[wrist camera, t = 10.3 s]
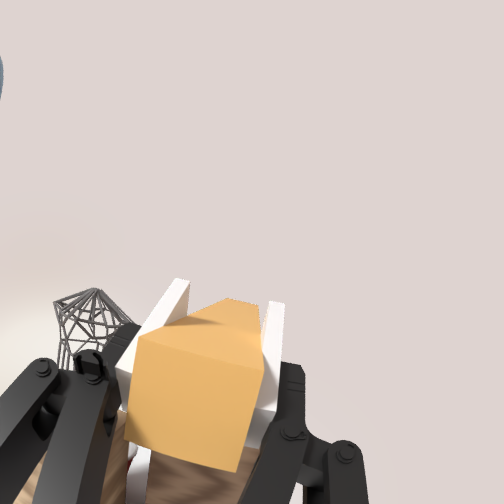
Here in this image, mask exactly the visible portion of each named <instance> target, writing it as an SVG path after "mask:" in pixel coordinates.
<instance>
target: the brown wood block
mask: <svg viewBox="0 0 504 504" xmlns="http://www.w3.org/2000/svg"><path fill="white" fill-rule="evenodd" d="M260 447H261V445H260ZM260 447H259V449H256V448H251V447H246V446H243V450H242V453H241V457H240V460H239V463H238V467H237V470H236V473H235V472H230V471H225V470H221V469H216V468H212V467H208V466H204V465H200V464H196V463H192V462H189V461H185V460H182V459H178V458H175V457H172V456H169V455H166V454H162V453H159V452H156V451H153V450H151V457H150V465H149V473H148V481H147V490H146V499H145V504H237V502H238V500H239V498H240V496H241V494H242V491H243V489H244V487H245V485H246V483H247V480H248V478H249V476H250V474H251V471H252V469H253V467H254V466H253V465H254V463H255V461H256V459H257V458H258V456H259V454H260Z"/></svg>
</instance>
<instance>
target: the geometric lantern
mask: <svg viewBox="0 0 504 504" xmlns="http://www.w3.org/2000/svg"><path fill="white" fill-rule="evenodd" d="M93 293H94V294H93ZM92 294H93V296H92ZM80 295H81V296H80ZM77 296H80V297H78V298H77V299H75V300H74V301H72V302H71V303H69V304H66V303H63V302H62V301H66V300H68V299H71V298H74V297H77ZM91 296H92V297H91ZM90 297H91V298H90ZM96 297H97V299H98V303H99V306H100V308H95V306H96ZM89 298H90V300H89V301H88V303H87V304H86V305H85V307H84V308H83V309H81V308H82V307H83V305H84V304H85V303H86V302H87V300H88V299H89ZM92 298H93V299H92ZM91 299H92V305H91V310H84V309H85V308H86V307H87V305H88V304H89V302H90V301H91ZM100 299H101V301H102V303H103V302H104V303H105V305H106V306H107V308H108V309H109V310H107V309H106V307H105V305H104V303H103V305H104V308H102V304H101V301H100ZM81 300H82V301H81ZM80 301H81V302H80ZM79 302H80V303H79ZM57 303H58V304H59V305H60V306H61V307H63V308H62V309H61V307H60V306H59V305H58V304H57ZM77 303H79V304H78V305H77V306H75V305H76V304H77ZM53 305H54V309H55V312H56V316H57V320H58V323H59V326H60V342H59V350H58V358H57V366H58V369H59V360H60V352H61V344H63V345H64V350H63V358H62V366H61V369H63V367H64V359H65V352H66V350H67V352H68V357H67V365H66V370H69V359H70V355H71V356H73V357H74V356H75V354H76V353H77V352H78V351H79V350H80V349H81V348H82V347H83V346H84V345H85V344H86V343H87V342H91V343H97V347H96V350H97V351H98V347H99V345H101V346H103V349H104V348H105V346H106V345H107V343H108V342H110V339H111V338H112V337H113V336H114V334H115V333H116V332H117V330H118V329H119V328H120V327H121V326H123V325H121V323H122V324H124V325H125V324H126V323H128V322H130V321H131V323H134V322H133V321H132V320H131V319H130V318H129V317H128V316H127V315H126V314H125V313H124V312H123V311H122V310H121V309H120V308H119V307H118V306H117V305H116V304H115V303H114V302H113V301H112V300H111V299H110V298H109V297H108V296H107V295H106V294H105V293H104V291H103V290H100V289H97V288H91V289H87V290H85V291H82V292H79V293H76V294H74V295H71V296H68V297H65V298H62V299H60V300H57V301H54V302H53ZM64 305H65V306H64ZM56 306H57V307H58V308H59V315H58V311H57V308H56ZM71 308H74V309H73V310H72V311H71V312H70V311H69V310H70V309H71ZM77 309H78V310H79V315H78V317H76V316H75V315H74V313H75V311H76V310H77ZM63 310H65V311H63ZM95 310H101V311H100V312H98V313H97V314H95ZM105 310H107V311H110V313H111V317H112V321H113V325H107V322H106V318H105V315H104V311H105ZM62 311H63V312H62ZM120 311H121V312H122V313H123V314H124V315H125V316H126V317H127V318H129V320H130V321H129V320H128V319H127V318H126V317H125V316H124V315H123V314H122V313H121V312H120ZM66 312H68V313H69V314H68V315H66V314H65V313H66ZM82 312H88V313H90V316H89V319H88V320H84V319H80V318H79V317H80V315H81V314H82ZM117 313H118V314H119V315H120V316H121V317H122V318H123V319H124V320H125V321H124V320H122V319H121V318H120V316H119V315H118V314H117ZM91 314H92V317H91ZM99 314H102V317H103V321H104V323H100V322H95V321H94V318H95V317H97V316H98V315H99ZM113 315H114V316H113ZM60 316H61V322H60ZM62 316H64V317H65V319H64V321H62ZM71 316H73V317H74V319H72V318H70V317H71ZM114 317H115V318H116V319H117V320H118V321H119V322H120V323H119V325H115V320H114ZM68 319H71V320H73V321H74V322H75V323H74V325H73V326H72V328H71V330H70V332H69V334H68V335H66V331H65V326H64V325H65V323H66V321H67V320H68ZM78 321H80V322H84V323H88V325H89V324H91V326H92V327H93V331H92V329H91V327H90V325H89V327H90V329H91V332H92V334H93V336H91V334H90V333H89V332H88V331H87V330H86V329H85V328H84V327H83V326H82V325H81V324H80V323H79V322H78ZM76 324H77V325H78V326H79V327H80V328H81V329H82V330H83V331H84V332H85V333H86V334H87V335H88V336H89V337H90V338H89V339H88V340H87V341H85V340H75V339H68V338H69V336H70V334H71V332H72V330H73V329H74V327H75V325H76ZM94 324H96V325H102V326H105V328H106V329H107V330H106V336H105V337H95V325H94ZM134 324H135V323H134ZM61 326H62V327H63V332H64V336H65V339H61ZM108 328H114V330H115V331H114V332H113V333H111V334H109V335H108ZM116 328H118V329H116ZM90 339H95V340H96V341H89V340H90ZM97 339H107V341H106V343H105V344H102V343H99V342H98V341H97ZM68 340H70V341H80V342H85V343H84V344H83V345H82V346H81V347H80V348H79V349H78V350H77V351H76V352H75V353H74V354H72V353H71V351H70V347H69V343H68ZM63 341H65V343H63ZM66 345H67V347H66ZM67 348H68V349H67ZM103 349H102V350H103ZM73 366H74V367H73V371H76V369H75V365H74V364H73Z"/></svg>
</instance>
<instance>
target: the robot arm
mask: <svg viewBox="0 0 504 504" xmlns="http://www.w3.org/2000/svg"><path fill="white" fill-rule="evenodd" d="M2 86H3V64H2V60H1V57H0V98H1V93H2ZM189 287H190V281H187V280H183V279H179V278H175V280H174V281H173V283H172V284H171V285H170V287H169V288H168V290H167V291H166V292H165V294H164V295H163V297H162V298H161V300H160V301H159V302H158V304H157V305H156V307H155V308H154V310H153V311H152V313H151V314H150V315H149V317H148V318H147V320H146V321H145V323H144V324H143V326H140V325H137V324H134V323H131V322H128V323H126V324H125V325H123V326H121V327H120V328H119V329H118V330H117V332H116V333H115V334H114V336H113V337H112V338H111V340H110V342H108V344H107V345H106V346H105V348H104V349H103V350H102V352H99V351H97V350H92V349H86V350H81V351H80V352H78V353H76V354H75V356H74V357H73V361H74V365H75V369H76V371H70V370H64V369H58V366H57V364H56V363H55V362H54V361H53V360H52V359H49V358H39V359H36V360H34V361H33V362H32V363H30V365H29V366H28V367H27V368H26V369H25V370H24V371H23V372H22V373H21V374H20V375H19V376H18V377H17V379H16V380H15V381H14V382H13V383H12V384H11V385H10V386H9V387H8V389H7V390H6V391H5V392H4V393H3V394H2V395H1V397H0V504H13V503H14V501H15V500H16V498H17V496H18V495H19V493H20V491H21V490H22V488H23V487H24V485H25V483H26V482H27V480H28V479H29V477H30V476H31V474H32V472H33V471H34V469H35V468H36V466H37V465H38V463H39V462H40V460H41V459H42V457H43V456H44V454H45V453H46V455H45V458H44V462H43V465H42V468H41V471H40V475H39V478H38V482H37V485H36V489H35V492H34V496H33V500H32V504H100V500H101V494H102V489H103V484H104V478H105V473H106V468H107V464H108V459H109V454H110V450H111V445H112V441H113V436H114V432H115V428H116V424H117V420H118V413H117V410H118V409H119V407H120V405H122V410H123V411H125V412H127V406H128V399H129V391H130V384H131V378H132V371H133V365H134V359H135V353H136V347H137V342H138V337H139V336H141V335H143V334H146V333H148V332H150V331H153V330H155V329H158V328H160V327H162V326H165V325H167V324H169V323H172V322H174V321H176V320H179V319H181V318H183V317H185V316H187V308H188V298H189ZM284 310H285V304H283V303H279V302H274V301H269V305H268V309H267V312H266V316H265V320H264V324H263V327H262V331H261V334H260V335H261V347H262V352H263V361H264V375H263V378H262V382H261V386H260V390H259V393H258V397H257V401H256V404H255V408H254V411H253V415H252V419H251V422H250V426H249V429H248V433H247V436H246V440H245V443H244V446H246V447H251V448H256V449H259V447H260V445H261V447H260V454H259V456H258V458H257V459H256V461H255V463H254V465H253V466H254V467H253V469H252V471H251V474H250V476H249V478H248V480H247V483H246V485H245V487H244V489H243V491H242V494H241V496H240V498H239V500H238V502H237V504H289V502H290V499H291V496H292V493H293V490H294V487H295V484H296V482H297V483H300V484H302V485H303V504H369V501H368V494H367V484H366V476H365V469H364V462H363V455H362V453H361V450H360V449H359V447H358V446H357V445H356V444H354V443H352V442H350V441H346V440H340V441H336V442H334V443H333V444H331V443H328V442H326V441H323V440H321V439H319V438H317V437H315V436H314V435H312V434H311V433H310V432H309V430H308V429H307V427H306V424H305V373H304V371H303V369H302V367H301V365H297V364H292V363H287V362H282V361H281V351H282V337H283V323H284ZM46 451H47V452H46Z"/></svg>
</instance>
